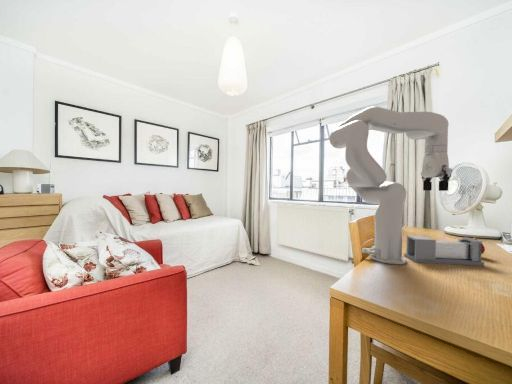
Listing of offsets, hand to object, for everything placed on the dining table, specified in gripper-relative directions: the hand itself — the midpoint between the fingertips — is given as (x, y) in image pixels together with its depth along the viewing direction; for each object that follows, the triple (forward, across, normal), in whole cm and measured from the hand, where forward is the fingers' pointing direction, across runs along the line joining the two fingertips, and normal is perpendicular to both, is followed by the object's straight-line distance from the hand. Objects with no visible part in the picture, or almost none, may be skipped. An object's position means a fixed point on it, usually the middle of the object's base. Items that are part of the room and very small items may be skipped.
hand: (434, 190), depth 92 cm
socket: (+27, +7, +9) cm, 29 cm away
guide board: (+28, +7, -2) cm, 29 cm away
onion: (+28, -1, +17) cm, 33 cm away
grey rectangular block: (+27, +7, +1) cm, 28 cm away
